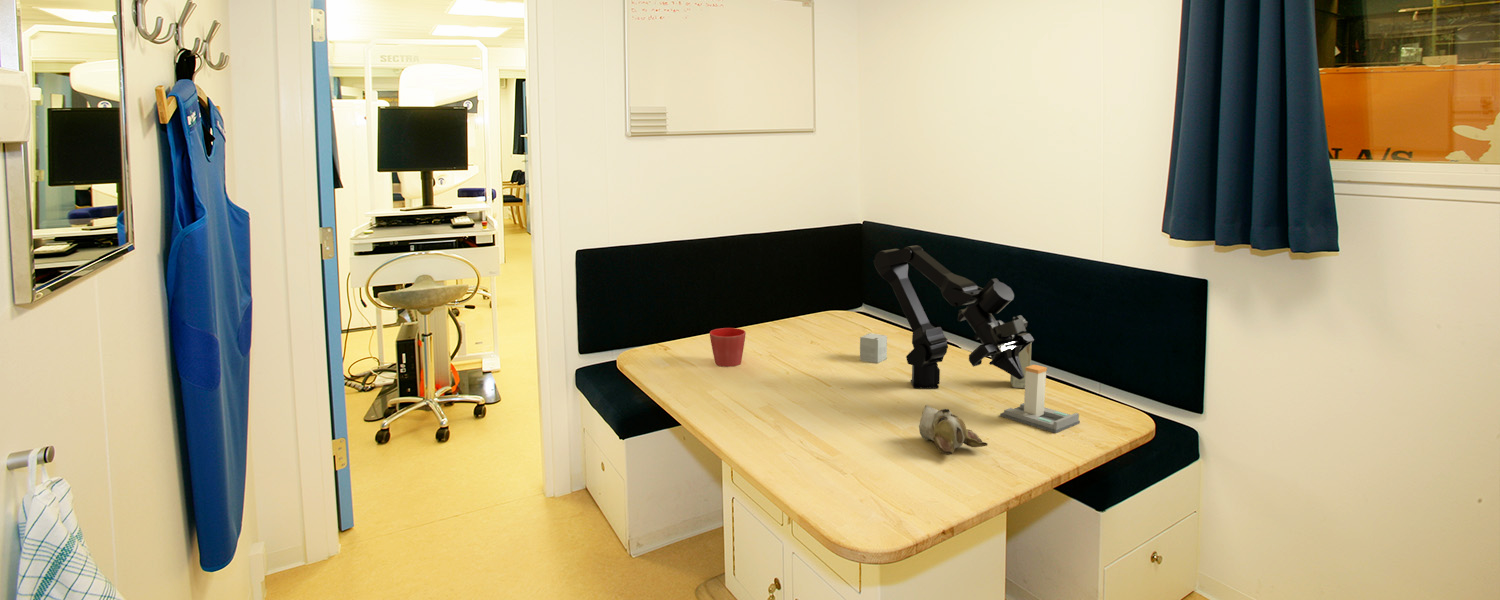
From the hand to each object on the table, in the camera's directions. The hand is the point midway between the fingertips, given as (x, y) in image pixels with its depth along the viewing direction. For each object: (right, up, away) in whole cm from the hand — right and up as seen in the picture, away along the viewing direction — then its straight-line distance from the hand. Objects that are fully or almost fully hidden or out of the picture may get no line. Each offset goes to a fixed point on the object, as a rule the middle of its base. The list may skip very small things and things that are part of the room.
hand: (1022, 378), depth 189 cm
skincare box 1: (-27, 0, +50) cm, 57 cm away
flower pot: (-70, -1, +49) cm, 86 cm away
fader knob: (+2, -9, -1) cm, 9 cm away
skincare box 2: (+7, -4, +24) cm, 25 cm away
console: (+3, -9, -2) cm, 10 cm away
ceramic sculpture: (-22, -13, -17) cm, 30 cm away
